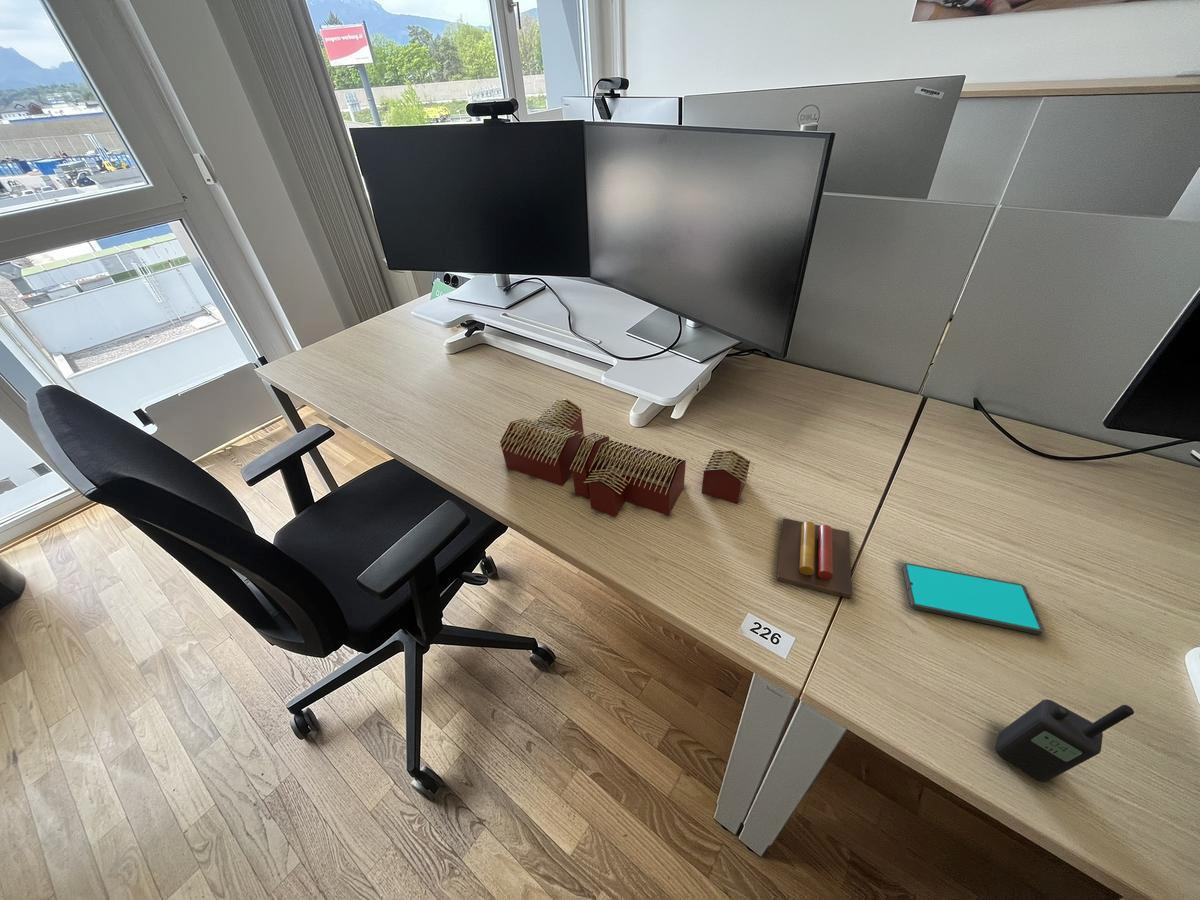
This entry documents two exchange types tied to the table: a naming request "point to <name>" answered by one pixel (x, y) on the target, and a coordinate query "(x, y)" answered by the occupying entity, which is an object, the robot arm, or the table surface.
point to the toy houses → (611, 463)
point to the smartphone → (971, 598)
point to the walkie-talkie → (1054, 739)
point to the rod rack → (815, 557)
